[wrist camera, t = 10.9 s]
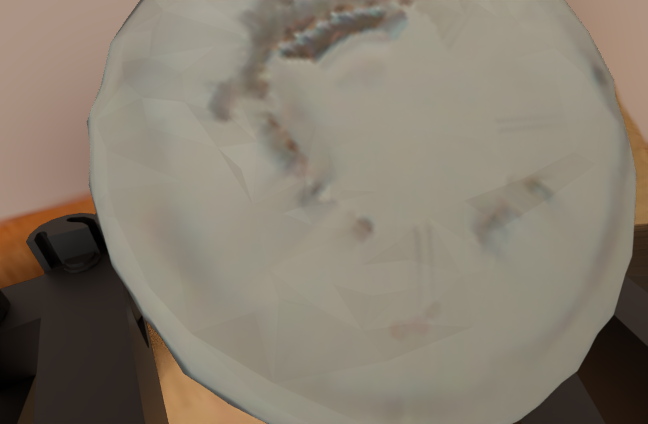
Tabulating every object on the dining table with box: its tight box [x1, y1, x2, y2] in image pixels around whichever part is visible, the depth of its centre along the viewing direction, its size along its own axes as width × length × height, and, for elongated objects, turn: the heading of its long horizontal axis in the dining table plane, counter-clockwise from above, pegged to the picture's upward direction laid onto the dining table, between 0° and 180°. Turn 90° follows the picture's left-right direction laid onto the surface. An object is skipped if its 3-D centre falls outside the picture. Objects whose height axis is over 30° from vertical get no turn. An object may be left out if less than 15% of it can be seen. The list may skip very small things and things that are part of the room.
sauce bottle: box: [87, 0, 636, 424], centre depth 12 cm, size 6×6×20 cm
